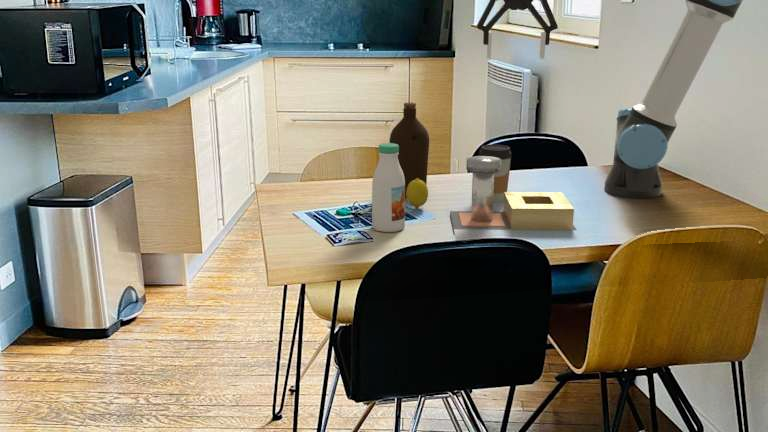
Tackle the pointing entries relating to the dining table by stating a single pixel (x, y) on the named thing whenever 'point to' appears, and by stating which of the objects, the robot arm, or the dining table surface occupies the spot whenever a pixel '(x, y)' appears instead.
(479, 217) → the steel peg
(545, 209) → the light wooden flat block
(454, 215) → the base mat
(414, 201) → the lemon
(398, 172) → the milk bottle
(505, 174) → the coffee cup
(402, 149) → the olive oil
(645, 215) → the dining table surface
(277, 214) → the dining table surface
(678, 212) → the dining table surface
